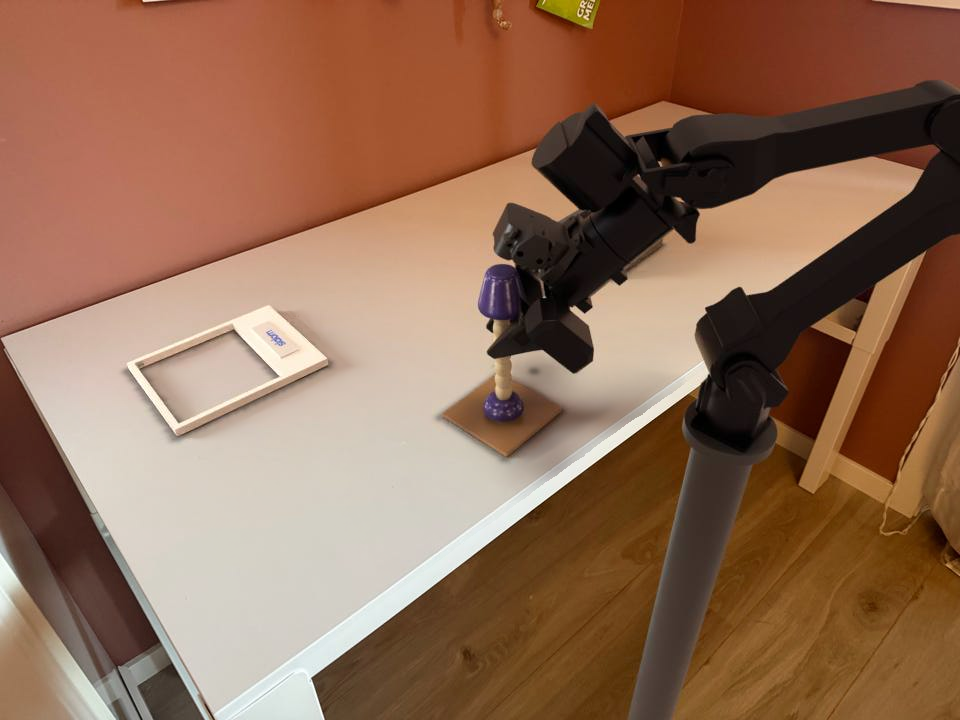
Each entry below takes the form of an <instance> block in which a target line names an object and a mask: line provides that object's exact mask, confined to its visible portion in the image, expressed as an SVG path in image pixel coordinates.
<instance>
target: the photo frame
mask: <svg viewBox="0 0 960 720" xmlns="http://www.w3.org/2000/svg"><path fill="white" fill-rule="evenodd" d="M233 330H234V332H235V333H237V334H238V335H239V337H241V338H242V340H243V341H245V343H247V344H248V346H249V347H250V348H251V349H252V350H253V351H254V352H255V353H256V354H257V355H258V356H259V357H260V359H262V360H263V361H264V362H265V363H266V364H267V365H268V366H269V367H270V368H271V369H272V370H273V372H274V373H276V374H277V376H278V377H276V378H274V379H272V380H270V381H267V382H265V383H263V384H260V385H259V386H256V387H254V388H252V389H250V390H249V391H248V390H247V391H245V392H243V393H241V394H240V395H238V396H235V397H233V398H231V399H228V400H227V401H224V402H222V403H220V404H218V405H216V406H214V407H212V408H209V409H207V410H205V411H202V412H201V413H198V414H196V415H194V416H192V417H190V418H188V419H186V420H183V421H181V422H180V423H179V422H178V421H177V419H176V418H175V417H174V415H173V414H172V413H171V411H170V410H169V408H168V407H167V405H166V404H165V403H164V402H163V400H162V399H161V397H160V396H159V395H158V393H157V392H156V391H155V389H154V388H153V387H152V385H151V384H150V383H149V381H148V380H147V379H146V377H145V376H144V375H143V373H142V371H141V370H140V369H142V368H145V367H146V366H149V365H152V364H154V363H156V362H159V361H161V360H163V359H166V358H168V357H171V356H173V355H176V354H177V353H181V352H183V351H186V350H187V349H190V348H192V347H194V346H197V345H200V344H202V343H204V342H207V341H209V340H211V339H214V338H217V337H219V336H221V335H224V334H226V333H228V332H231V331H233ZM126 365H127V368H128V370H129V371H130V373H131V374H132V376H133V378H135V380H136V381H137V383H138V385H139V386H140V387H141V388H142V390H143V391H144V392H145V394H146V395H147V396H148V398H149V399H150V401H151V402H152V403H153V405H154V406H155V408H156V409H157V411H158V412H159V413H160V414H161V416H162V417H163V419H164V420H165V422H166V423H167V424H168V426H169V427H170V429H171V430H172V431H173V433H174V434H175V435H176V437H180V436H182V435H183V434H186V433H187V432H190V431H192V430H194V429H196V428H198V427H201V426H202V425H204V424H207V423H209V422H211V421H213V420H215V419H217V418H219V417H222V416H223V415H225V414H227V413H230V412H232V411H234V410H236V409H239V408H240V407H242V406H244V405H247V404H248V403H251V402H254V401H255V400H257V399H259V398H261V397H263V396H265V395H268V394H270V393H272V392H274V391H276V390H278V389H280V388H282V387H285V386H287V385H289V384H291V383H293V382H295V381H297V380H299V379H302V378H304V377H306V376H308V375H310V374H312V373H314V372H316V371H318V370H320V369H322V368H324V367H326V366H328V365H329V360H328V357H326V356H325V355H324V354H323V353H322V352H321V351H320V350H319V349H318V348H317V347H315V346H314V345H313V343H311V342H310V341H309V340H308V339H307V338H306V337H305V336H304V335H303V334H301V332H299V331H298V330H297V329H296V328H295V327H294V326H293V325H292V324H291V323H289V321H288V320H287V319H285V318H284V317H283V316H282V315H281V314H280V313H279V312H278V311H276V309H274V308H273V307H272V306H271V305H270V304H268V305H265V306H262V307H260V308H258V309H256V310H252V311H250V312H248V313H246V314H243V315H240V316H238V317H236V318H233V319H230V320H228V321H226V322H223V323H221V324H219V325H217V326H213V327H211V328H209V329H206V330H204V331H202V332H199V333H197V334H194V335H192V336H189V337H187V338H184V339H182V340H180V341H177V342H175V343H172V344H170V345H168V346H167V345H166V346H165V347H163V348H160V349H158V350H157V349H156V350H155V351H153V352H150V353H147V354H145V355H143V356H140V357H137V358H136V359H134V360H131V361H129V362H126Z"/></svg>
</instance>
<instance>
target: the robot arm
mask: <svg viewBox="0 0 960 720" xmlns="http://www.w3.org/2000/svg"><path fill="white" fill-rule="evenodd" d="M926 146H934V147H935V148H936V149H937V150H939V151H938V152H937V153H936V154H935V155H933V156H932V158H930V159H929V161H928V163H927V165H926V166H925V168H924V169H923V172H922V173H921V175H920V176H919V178H918V180H917V182H916V183H915V185H914V187H913V188H912V190H911V191H910V192H909V193H908V194H907V195H905V196H904V197H903V198H901V199H899V200H898V201H897V202H896V203H894V204H892V205H891V206H889V207H887V209H885V210H884V211H882V212H881V213H880V214H878V215H877V216H875V217H874V218H872V219H871V220H869V221H868V222H867V223H865V224H864V225H863V226H860V227H859V228H858V229H857V230H855V231H854V232H852V233H850V234H849V235H848V236H847V237H845V238H843V239H842V240H841V241H839V242H838V243H836V244H835V245H833V246H832V247H831V248H829V249H828V250H826V251H825V252H823V253H822V254H820V255H819V256H817V257H815V259H813V260H812V261H811V262H809V263H808V264H806V265H805V266H803V267H802V268H800V269H799V270H798V271H796V272H795V273H793V274H792V275H790V276H789V277H788V278H785V280H783V281H782V282H781V283H779V284H777V285H776V286H775V287H773V288H771V289H769V290H768V291H762V292H757V293H752V294H746V292H745V290H744V289H743V287H742V286H737V287H736V288H733V289H732V290H730V291H729V292H728V293H727V294H726V295H725V296H724V297H723V298H721V299H720V300H719V301H717V302H715V303H713V304H711V305H708V306H705V307H704V310H705V313H704V315H702V316H701V317H700V318H699V319H698V320H697V322H696V324H695V326H696V327H695V331H694V340H695V344H696V345H697V348H698V350H699V353H700V355H701V357H702V360H703V362H704V364H705V367H706V369H707V371H708V374H707V376H706V377H705V378H704V379H703V380H702V381H701V382H700V385H699V386H700V387H699V391H698V394H697V398H696V399H697V403H696V407H695V411H696V412H698V414H697V415H696V416H695V417H694V418H693V419H692V420H691V422H690V426H691V427H693V428H695V429H697V430H699V431H700V432H702V433H704V434H706V435H708V436H710V437H712V438H714V439H716V440H718V441H720V442H722V443H724V444H726V445H728V446H730V447H732V448H734V449H736V450H738V451H739V452H742V453H745V452H747V451H748V449H749V448H750V447H751V446H752V445H753V444H754V442H755V441H756V440H757V439H758V438H759V437H760V435H761V434H762V433H763V432H764V431H765V429H766V428H767V427H768V426H769V425H770V423H771V418H770V417H768V414H769V415H770V411H771V409H773V408H779V407H780V406H781V404H783V402H784V400H785V399H786V398H787V397H788V395H789V394H790V391H789V389H788V388H787V386H786V384H785V382H784V381H783V379H782V377H781V374H780V373H779V371H778V368H780V366H781V365H783V363H785V361H786V360H787V358H788V356H789V355H790V353H791V351H792V350H793V348H794V346H795V345H796V342H797V341H798V339H799V337H800V336H801V334H803V332H805V331H806V330H808V329H810V328H812V327H813V326H814V325H815V324H817V323H818V322H820V321H822V320H823V319H825V318H826V317H828V316H830V315H831V314H832V313H835V311H837V310H838V309H840V308H841V307H843V306H844V305H846V304H848V303H849V302H851V301H852V300H855V298H856V297H858V296H860V295H861V294H862V293H864V292H866V291H867V290H869V289H870V288H872V287H874V286H875V285H877V284H878V283H880V282H881V281H883V280H884V279H886V278H887V277H889V276H891V275H892V274H894V273H895V272H896V271H898V270H899V269H901V268H903V267H904V266H906V265H907V264H909V263H911V262H912V261H913V260H915V259H917V258H918V257H919V256H921V255H923V254H924V253H926V252H927V251H929V250H930V249H932V248H934V247H935V246H936V245H938V244H940V243H941V242H943V241H944V240H946V239H948V238H949V237H952V236H953V237H954V236H957V235H960V89H959V88H957V87H956V86H954V85H952V84H951V83H950V82H947V81H945V80H942V79H926V80H923V81H921V82H919V83H916V84H915V85H913V86H909V87H906V88H901V89H897V90H892V91H887V92H882V93H878V94H874V95H869V96H864V97H860V98H855V99H850V100H846V101H841V102H836V103H832V104H828V105H822V106H818V107H813V108H808V109H803V110H799V111H794V112H790V113H789V112H788V113H785V114H784V113H783V114H780V115H775V116H773V115H772V116H757V115H750V114H749V115H747V114H739V113H733V112H729V113H711V114H706V113H705V114H695V115H690V116H687V117H684V118H681V119H679V120H678V121H676V122H675V123H674V124H673V125H672V127H668V128H662V129H655V130H649V131H645V132H638V133H632V134H627V135H625V136H624V135H623V134H622V133H621V132H620V131H619V129H617V127H615V126H614V125H613V123H611V121H610V120H609V117H608V116H607V114H606V113H605V112H604V110H602V108H601V107H600V106H599V105H598V104H597V103H596V102H592V103H590V104H589V105H588V106H587V107H586V108H585V109H584V110H583V111H579V112H576V113H572V114H571V115H569V116H568V117H566V118H565V119H563V120H562V121H558V122H556V123H555V124H554V125H553V126H552V127H551V128H550V129H549V130H548V131H547V132H546V134H545V135H544V136H543V137H542V138H541V140H540V141H539V143H538V145H537V147H536V148H535V150H534V153H533V156H532V157H531V166H532V168H533V169H534V170H536V171H537V172H538V173H539V174H541V176H542V177H543V178H544V179H546V180H547V181H548V182H549V183H550V184H551V185H552V186H553V187H554V188H556V190H557V191H558V192H559V193H561V194H562V195H563V196H564V197H565V198H566V199H568V201H569V202H570V203H571V204H573V206H575V207H576V208H577V210H578V209H579V210H583V211H584V210H589V209H590V210H591V211H592V213H591V214H590V215H589V216H588V217H587V218H586V219H583V218H582V217H581V216H580V215H579V214H577V215H576V216H574V215H572V216H571V217H569V218H568V219H567V220H566V221H565V222H563V223H562V224H561V223H559V222H558V221H557V220H555V219H553V218H552V217H550V216H548V215H547V214H543V213H540V212H539V211H536V210H533V209H531V208H528V207H525V206H523V205H520V204H518V203H515V202H507V203H506V205H505V207H504V208H503V211H502V213H501V215H500V218H499V219H498V221H497V223H496V226H495V228H494V230H493V232H492V237H493V246H492V247H493V252H494V254H495V255H497V256H498V257H499V258H501V259H502V260H505V261H512V262H513V263H514V267H515V268H516V269H517V271H518V273H519V276H520V279H521V283H522V286H523V289H524V293H525V296H526V300H527V302H526V301H525V300H524V299H522V298H521V297H519V306H518V316H517V318H514V319H510V321H509V322H510V325H509V326H508V327H507V328H506V329H505V331H504V332H503V333H502V334H501V335H500V336H499V337H498V338H497V339H496V340H495V341H494V343H493V342H492V343H491V345H490V346H489V347H488V349H487V350H486V355H487V356H488V357H490V358H491V359H493V360H495V359H498V358H503V357H508V356H511V357H513V356H517V355H522V354H526V353H532V352H538V351H543V352H544V353H545V354H546V355H548V356H549V357H551V358H552V359H554V360H555V362H556V363H558V364H560V366H562V367H563V368H565V369H566V370H568V371H569V372H570V373H571V374H572V375H575V374H576V375H577V374H578V373H579V372H580V371H582V370H584V369H585V368H586V367H587V366H589V365H590V364H591V363H593V362H594V354H595V347H594V342H593V339H592V332H591V330H590V325H589V324H588V323H587V322H585V321H584V320H583V319H582V318H580V317H579V316H578V315H576V314H575V313H574V312H573V311H572V310H571V308H572V309H573V308H574V307H576V308H577V309H578V310H579V311H580V312H581V313H583V314H587V313H588V312H589V311H590V310H592V309H593V308H594V305H593V302H592V297H593V296H594V295H596V294H597V293H598V292H599V291H601V290H602V289H603V288H604V287H605V286H606V285H608V284H609V283H611V282H612V281H613V282H614V283H615V284H616V285H618V286H619V287H620V286H622V285H623V284H624V283H625V282H627V280H629V277H628V274H627V271H625V269H626V268H627V267H628V266H630V265H631V264H632V263H633V262H635V261H636V260H637V259H638V258H639V257H641V256H642V255H643V254H644V253H646V252H647V251H648V250H649V249H650V248H652V247H653V246H654V245H655V244H657V243H658V242H659V241H660V240H662V239H663V240H664V238H665V237H667V236H668V235H669V234H671V232H673V230H674V231H675V232H676V233H677V234H678V235H679V236H680V237H681V238H682V239H683V240H684V241H685V242H686V243H687V244H690V245H692V244H694V243H695V242H696V240H697V224H698V220H699V218H700V216H701V214H700V211H699V210H711V209H715V208H719V207H722V206H724V205H727V204H730V203H733V202H736V201H738V200H741V199H745V198H747V197H750V196H752V195H754V194H755V193H757V192H758V191H760V190H761V189H763V187H765V186H766V185H768V184H769V183H770V182H772V181H774V180H775V179H778V178H780V177H784V176H786V175H790V174H794V173H798V172H799V173H800V172H803V171H808V170H809V171H810V170H813V169H814V170H815V169H819V168H822V167H823V168H824V167H827V166H832V165H838V164H842V163H848V162H852V161H858V160H862V159H867V158H873V157H878V156H881V155H887V154H892V153H896V152H901V151H906V150H911V149H916V148H921V147H926ZM660 163H661V165H660ZM677 198H678V199H680V200H678V199H677ZM493 325H494V320H493V319H490V318H489V320H488V321H487V323H486V325H485V329H486V330H487V331H489V332H490V333H491V334H494V332H493ZM694 423H695V424H694Z"/></svg>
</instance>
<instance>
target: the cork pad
mask: <svg viewBox="0 0 960 720" xmlns="http://www.w3.org/2000/svg"><path fill="white" fill-rule="evenodd" d="M511 386H512V391H514V392H515V393H517V394H518V395H519V396H520V398H521V399H522V402H523V405H524V410H523V412H522V414H521V415H520V416H519V417H518V418H516V419H515V420H513V421H509V422H498V421H494V420H491V419H489V418H488V417H487V416H486V415H485V413H484V403H485V400H486V398H487V397H488V396H489V394H491V393H492V392H493V391H495V388H496V383H495V374H494V375H493V376H492V377H490V378H489V379H487V380H486V381H484V382H483V383H482V384H480V385H479V386H478V387H476V388H475V389H474V390H473V391H471V392H470V393H468V394H467V395H465V396H464V397H462V398H461V399H460V400H458V401H457V402H456V403H454V404H453V405H452V406H450V407H449V408H448V409H446V410H445V411H443V412H442V418H444V419H445V420H447V421H449V422H450V423H452V424H453V425H455V426H456V427H458V428H460V429H461V430H463V431H464V432H466V433H467V434H469V435H471V436H472V437H474V438H476V439H477V440H478V441H480V442H481V443H484V444H485V445H486V446H488V447H490V448H491V449H493V450H495V451H496V452H497V453H499V454H501V455H502V456H504V457H505V458H508V457H510V455H511V454H512V453H514V452H515V451H516V450H517V449H518V448H520V447H521V446H522V445H524V444H525V442H526V441H528V440H529V439H530V438H532V437H533V436H534V435H535V434H536V433H537V432H539V431H540V430H541V429H543V427H545V426H546V425H547V424H548V423H550V422H551V421H552V420H553V419H554V418H556V417H557V416H558V415H559V414H560V413H561V412H562V409H563V407H561V406H559V405H557V404H555V403H554V402H552V401H550V400H548V399H546V398H545V397H544V396H541V395H539V394H537V393H535V392H533V391H532V390H530V389H528V388H526V387H525V386H524V385H521V384H519V383H518V382H516V381H514V380H512V382H511Z"/></svg>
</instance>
